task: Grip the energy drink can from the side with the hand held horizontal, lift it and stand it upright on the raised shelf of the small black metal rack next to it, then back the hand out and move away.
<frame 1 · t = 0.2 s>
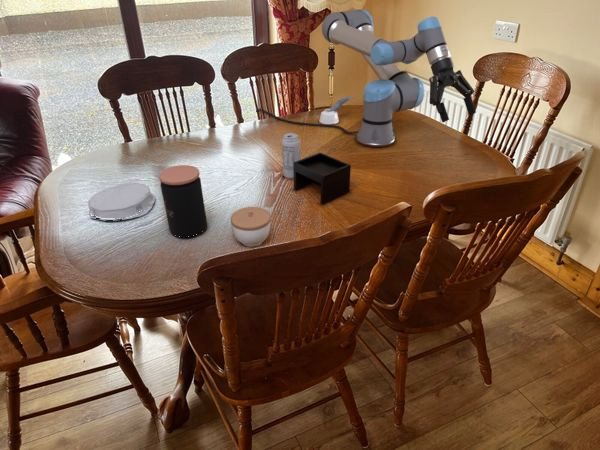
hand: (459, 117, 161), 15 cm above the table, tool tilted 35°, fingers open, 13 cm apart
trinket box: (252, 241, 125), on the table
rack: (321, 191, 149), on the table
energy drink can: (291, 176, 158), on the table
food container: (123, 207, 142), on the table
coffee jar: (189, 230, 130), on the table
inkwell: (336, 119, 208), on the table
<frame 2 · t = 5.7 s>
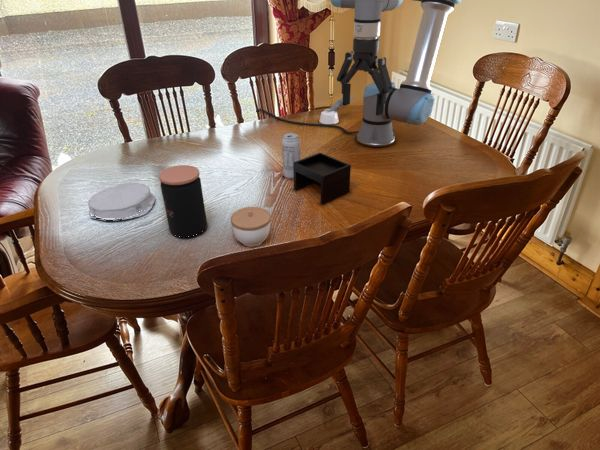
hand: (362, 109, 142), 25 cm above the table, tool pointing down, fingers open, 13 cm apart
nothing on the table moved.
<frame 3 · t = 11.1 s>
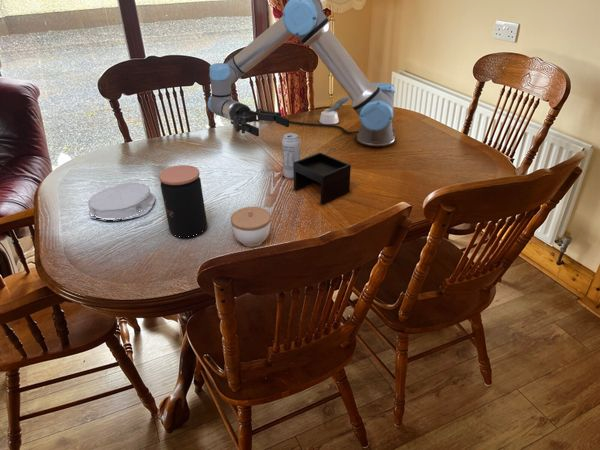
hand: (273, 127, 156), 15 cm above the table, tool horizontal, fingers open, 13 cm apart
nothing on the table moved.
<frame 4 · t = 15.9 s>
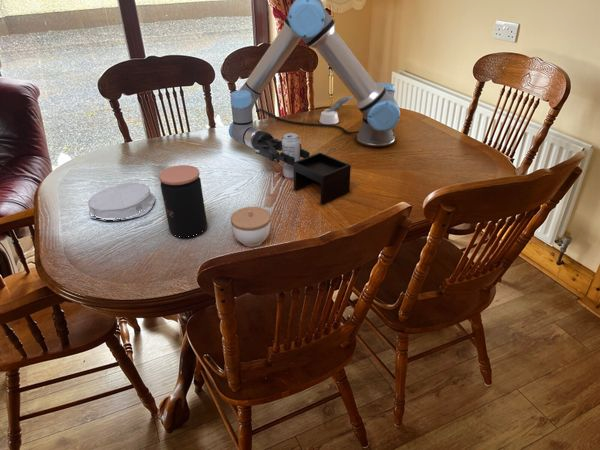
hand: (301, 159, 150), 8 cm above the table, tool horizontal, fingers closed on energy drink can, 6 cm apart
energy drink can: (291, 176, 158), on the table, touching gripper
everything else where it was.
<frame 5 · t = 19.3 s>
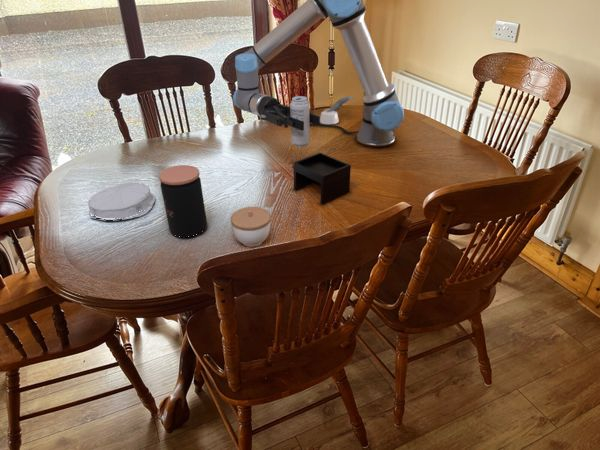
hand: (310, 123, 140), 22 cm above the table, tool horizontal, fingers closed on energy drink can, 6 cm apart
energy drink can: (300, 144, 148), point 13 cm above the table, touching gripper
everything else where it was.
when the fingers open (16 cm above the table, at t = 22.8 s): energy drink can stays where it is, resting on rack.
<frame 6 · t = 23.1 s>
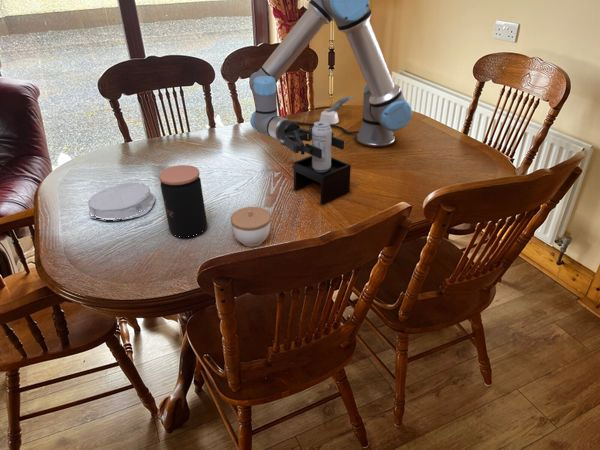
hand: (332, 149, 137), 16 cm above the table, tool horizontal, fingers open, 9 cm apart
energy drink can: (321, 169, 144), point 8 cm above the table, touching rack
everything else where it was.
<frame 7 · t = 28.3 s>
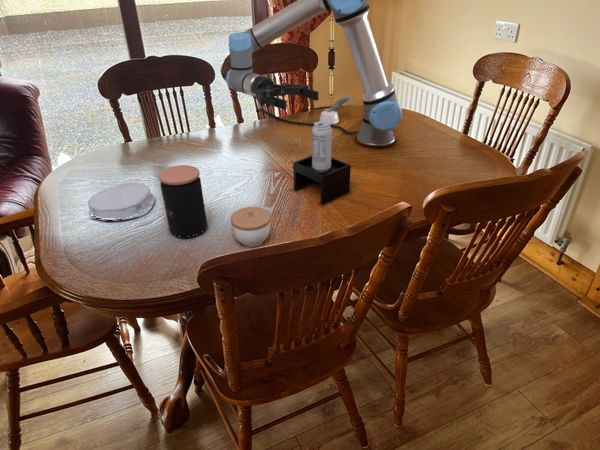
hand: (301, 100, 140), 28 cm above the table, tool horizontal, fingers open, 13 cm apart
nothing on the table moved.
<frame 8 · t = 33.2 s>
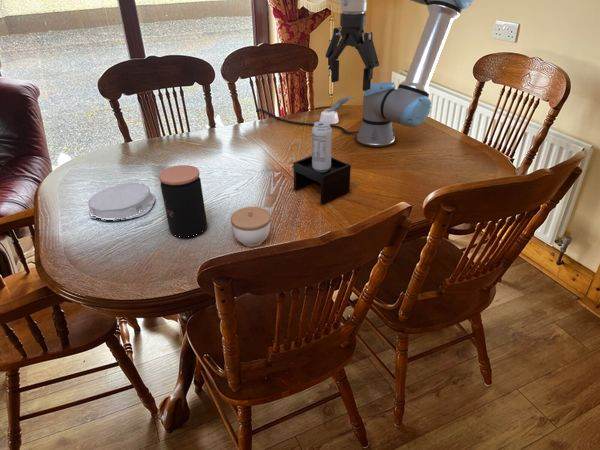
hand: (350, 85, 143), 31 cm above the table, tool pointing down, fingers open, 13 cm apart
nothing on the table moved.
at the end: energy drink can inside the target area on the rack (0.1 cm from its centre), point 7.8 cm above the rack's base; energy drink can tilted 0°; the gripper is holding nothing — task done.
